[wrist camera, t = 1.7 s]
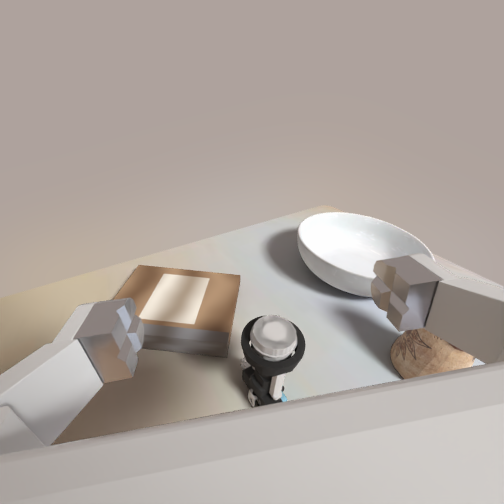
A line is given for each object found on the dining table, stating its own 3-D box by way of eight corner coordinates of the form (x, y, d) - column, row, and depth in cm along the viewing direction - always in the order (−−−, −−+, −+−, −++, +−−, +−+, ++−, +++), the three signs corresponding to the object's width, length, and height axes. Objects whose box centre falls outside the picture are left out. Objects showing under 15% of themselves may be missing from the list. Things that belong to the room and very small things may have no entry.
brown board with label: (90, 342, 31) (84, 328, 29) (140, 272, 42) (137, 259, 41) (226, 357, 30) (227, 343, 29) (239, 282, 42) (240, 270, 40)
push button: (222, 376, 28) (223, 310, 23) (263, 355, 31) (272, 291, 26) (255, 437, 24) (266, 372, 18) (300, 407, 26) (321, 342, 21)
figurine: (442, 348, 34) (495, 274, 27) (469, 405, 28) (547, 327, 21) (383, 337, 34) (422, 263, 28) (398, 389, 29) (452, 311, 22)
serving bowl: (408, 341, 34) (432, 303, 31) (270, 278, 43) (275, 242, 40) (422, 267, 49) (439, 234, 46) (317, 231, 58) (324, 202, 55)
